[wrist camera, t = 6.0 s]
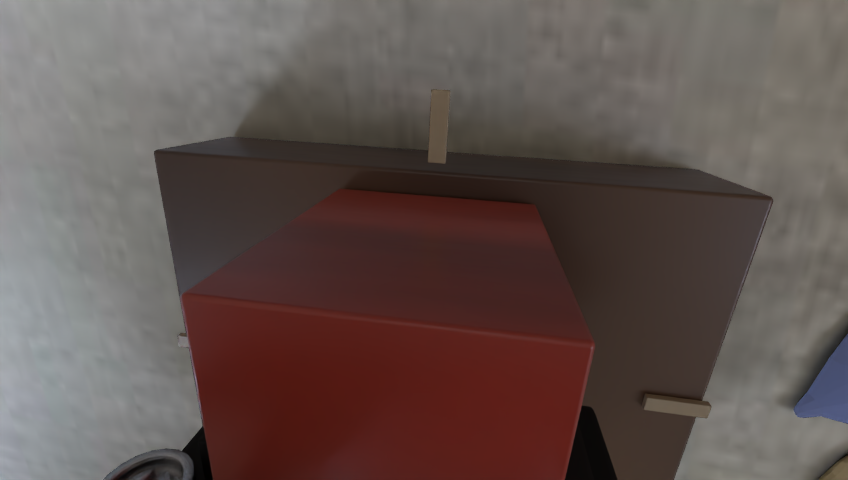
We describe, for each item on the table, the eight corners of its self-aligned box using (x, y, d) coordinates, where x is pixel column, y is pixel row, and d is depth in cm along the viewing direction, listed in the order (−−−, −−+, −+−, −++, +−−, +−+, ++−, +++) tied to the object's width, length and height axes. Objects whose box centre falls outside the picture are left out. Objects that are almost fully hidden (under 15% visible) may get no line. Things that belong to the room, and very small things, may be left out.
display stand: (261, 437, 16) (211, 515, 13) (219, 78, 12) (127, 73, 9) (610, 493, 15) (642, 596, 12) (722, 104, 10) (821, 109, 7)
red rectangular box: (338, 187, 9) (158, 305, 4) (536, 203, 8) (605, 359, 4) (346, 488, 12) (250, 760, 7) (490, 512, 12) (493, 822, 7)
